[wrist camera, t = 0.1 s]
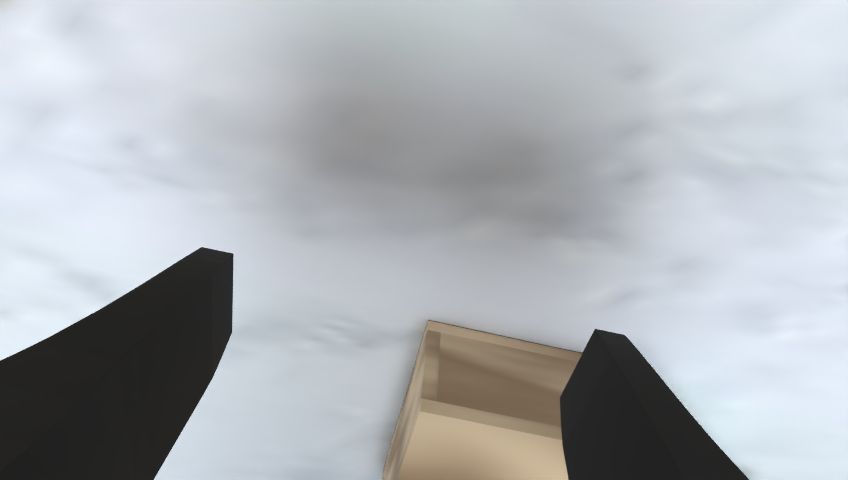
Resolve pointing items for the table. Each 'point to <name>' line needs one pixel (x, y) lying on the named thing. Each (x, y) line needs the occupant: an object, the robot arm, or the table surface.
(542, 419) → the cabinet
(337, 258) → the table surface
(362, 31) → the table surface
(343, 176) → the table surface
